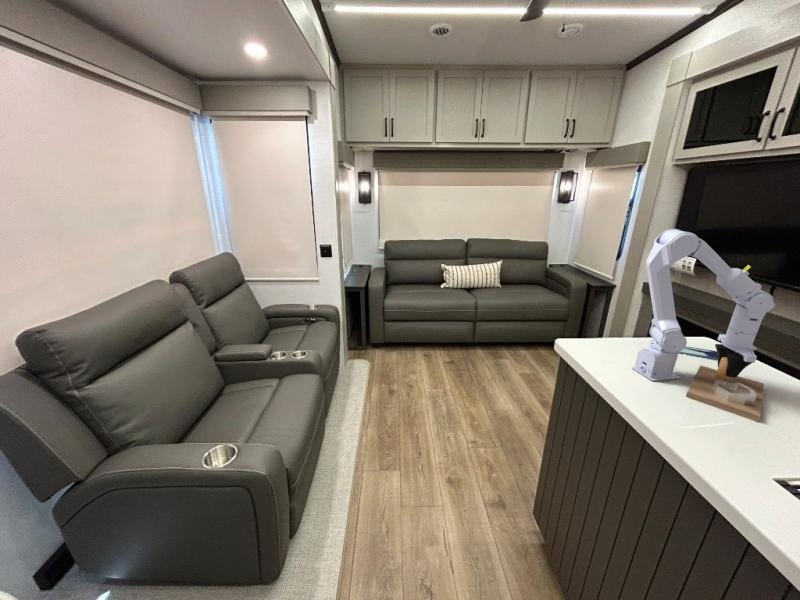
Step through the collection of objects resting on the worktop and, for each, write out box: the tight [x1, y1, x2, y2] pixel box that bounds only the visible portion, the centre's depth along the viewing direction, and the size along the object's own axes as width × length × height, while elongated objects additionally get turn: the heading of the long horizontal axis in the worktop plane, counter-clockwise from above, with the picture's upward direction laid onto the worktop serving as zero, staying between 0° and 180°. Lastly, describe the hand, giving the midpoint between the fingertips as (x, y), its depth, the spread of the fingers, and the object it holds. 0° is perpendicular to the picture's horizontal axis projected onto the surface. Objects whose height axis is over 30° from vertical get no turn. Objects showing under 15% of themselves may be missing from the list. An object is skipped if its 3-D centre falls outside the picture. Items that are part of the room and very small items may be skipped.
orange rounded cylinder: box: [715, 357, 735, 382], centre depth 97 cm, size 4×4×6 cm
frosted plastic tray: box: [713, 380, 757, 405], centre depth 89 cm, size 8×8×2 cm
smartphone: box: [678, 345, 718, 362], centre depth 117 cm, size 7×1×15 cm
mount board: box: [685, 364, 765, 423], centre depth 93 cm, size 22×14×2 cm, turn 132°
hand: (726, 372), depth 97 cm, fingers closed on orange rounded cylinder, 4 cm apart
